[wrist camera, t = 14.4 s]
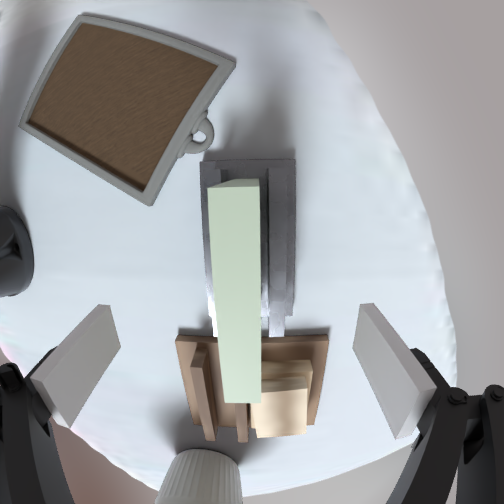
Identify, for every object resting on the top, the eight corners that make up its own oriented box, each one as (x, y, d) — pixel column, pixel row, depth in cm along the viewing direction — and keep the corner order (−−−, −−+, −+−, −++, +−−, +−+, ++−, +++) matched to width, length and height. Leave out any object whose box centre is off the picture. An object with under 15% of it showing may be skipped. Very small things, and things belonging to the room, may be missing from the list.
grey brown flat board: (78, 14, 22) (256, 72, 26) (83, 17, 23) (256, 76, 27) (17, 126, 26) (167, 219, 30) (24, 127, 28) (172, 216, 32)
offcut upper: (257, 425, 36) (257, 437, 33) (250, 380, 33) (249, 393, 31) (304, 421, 35) (306, 433, 33) (304, 375, 33) (307, 388, 30)
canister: (159, 431, 43) (130, 519, 23) (253, 443, 43) (250, 539, 23) (171, 470, 48) (154, 540, 28) (247, 480, 48) (244, 553, 28)
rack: (195, 418, 41) (189, 442, 36) (177, 334, 36) (166, 359, 31) (312, 418, 40) (317, 442, 35) (326, 334, 35) (335, 358, 30)
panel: (238, 301, 32) (224, 402, 17) (234, 178, 29) (207, 188, 13) (260, 301, 32) (261, 403, 17) (258, 178, 28) (259, 186, 13)
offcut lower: (251, 416, 38) (251, 428, 36) (249, 361, 35) (249, 373, 33) (302, 415, 38) (304, 426, 36) (310, 359, 35) (312, 371, 32)
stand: (211, 310, 35) (200, 344, 27) (202, 162, 29) (185, 159, 22) (291, 309, 34) (298, 344, 27) (293, 159, 29) (304, 156, 22)
